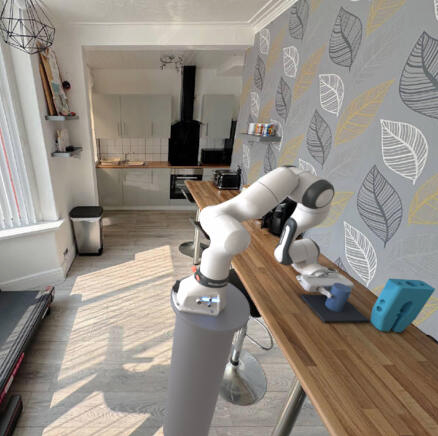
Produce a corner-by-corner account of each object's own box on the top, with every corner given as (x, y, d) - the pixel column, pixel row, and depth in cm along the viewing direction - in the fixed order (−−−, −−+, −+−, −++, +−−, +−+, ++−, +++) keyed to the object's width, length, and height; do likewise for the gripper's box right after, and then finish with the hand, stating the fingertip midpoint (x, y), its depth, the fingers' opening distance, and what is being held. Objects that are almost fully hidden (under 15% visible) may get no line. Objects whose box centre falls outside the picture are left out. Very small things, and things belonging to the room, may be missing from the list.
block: (395, 321, 91) (421, 280, 83) (408, 332, 87) (437, 289, 79) (364, 319, 91) (387, 278, 83) (374, 330, 87) (400, 287, 79)
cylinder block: (331, 312, 93) (341, 292, 89) (321, 301, 98) (330, 282, 94) (345, 311, 94) (355, 292, 90) (334, 301, 99) (343, 282, 95)
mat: (324, 322, 90) (324, 320, 89) (300, 296, 102) (301, 294, 102) (368, 322, 91) (369, 320, 90) (339, 296, 103) (340, 294, 103)
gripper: (295, 269, 104) (317, 290, 91) (339, 269, 105) (367, 290, 92) (291, 280, 106) (312, 303, 93) (334, 280, 107) (361, 302, 95)
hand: (340, 296), depth 93 cm, fingers closed on cylinder block, 5 cm apart
